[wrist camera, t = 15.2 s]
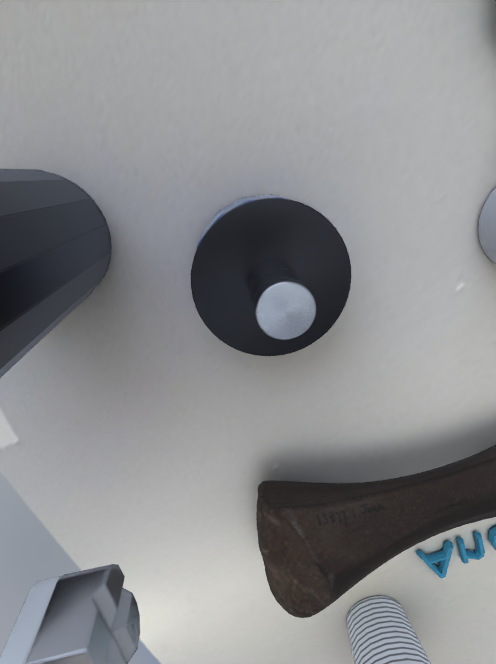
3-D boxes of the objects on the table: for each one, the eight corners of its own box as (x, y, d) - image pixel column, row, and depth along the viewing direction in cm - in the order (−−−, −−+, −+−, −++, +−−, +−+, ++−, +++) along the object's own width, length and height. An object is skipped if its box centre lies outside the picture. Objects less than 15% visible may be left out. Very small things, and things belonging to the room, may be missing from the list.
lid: (199, 355, 29) (193, 408, 22) (184, 202, 26) (171, 212, 19) (344, 344, 29) (381, 394, 23) (348, 192, 26) (393, 198, 19)
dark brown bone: (250, 515, 41) (512, 413, 43) (290, 643, 34) (600, 515, 36) (226, 471, 33) (551, 347, 35) (272, 628, 26) (675, 463, 28)
